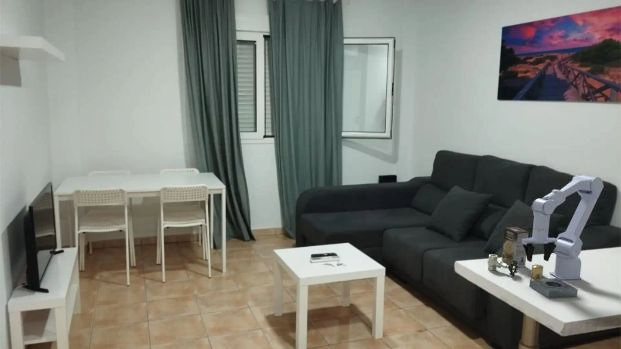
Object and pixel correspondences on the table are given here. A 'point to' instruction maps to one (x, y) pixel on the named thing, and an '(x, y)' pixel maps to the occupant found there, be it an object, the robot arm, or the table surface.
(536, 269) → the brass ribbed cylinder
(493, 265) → the valve
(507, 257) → the coffee box
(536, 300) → the table surface
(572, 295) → the plate
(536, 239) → the robot arm
